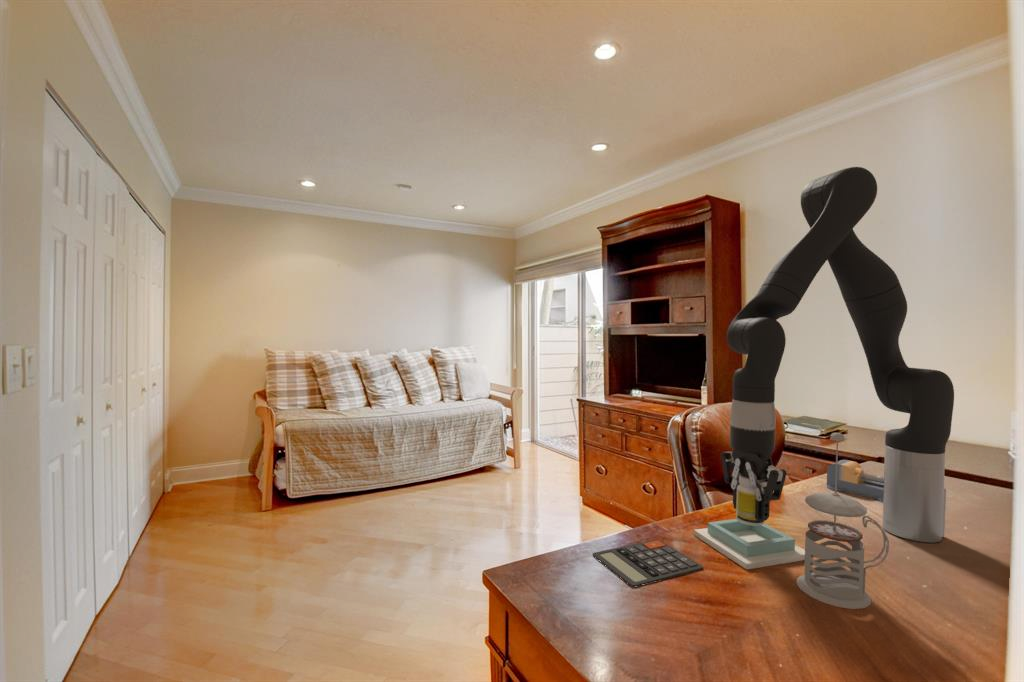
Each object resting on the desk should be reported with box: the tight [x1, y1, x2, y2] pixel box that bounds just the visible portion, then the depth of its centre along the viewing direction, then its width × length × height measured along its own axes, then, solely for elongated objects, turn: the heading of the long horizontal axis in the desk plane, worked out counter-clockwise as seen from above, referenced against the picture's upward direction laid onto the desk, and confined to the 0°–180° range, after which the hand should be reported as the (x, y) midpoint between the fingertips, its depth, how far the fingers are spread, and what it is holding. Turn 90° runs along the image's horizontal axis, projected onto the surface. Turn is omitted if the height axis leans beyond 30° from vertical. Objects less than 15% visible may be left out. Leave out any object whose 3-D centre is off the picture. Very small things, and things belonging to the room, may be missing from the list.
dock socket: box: [693, 518, 805, 570], centre depth 90 cm, size 14×14×3 cm
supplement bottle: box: [735, 475, 765, 526], centre depth 89 cm, size 5×5×8 cm
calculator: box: [592, 538, 704, 588], centre depth 84 cm, size 12×1×15 cm
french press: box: [796, 432, 890, 610], centre depth 74 cm, size 10×12×25 cm
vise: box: [826, 459, 884, 504], centre depth 118 cm, size 18×10×7 cm, turn 37°
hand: (750, 513), depth 90 cm, fingers closed on supplement bottle, 4 cm apart
